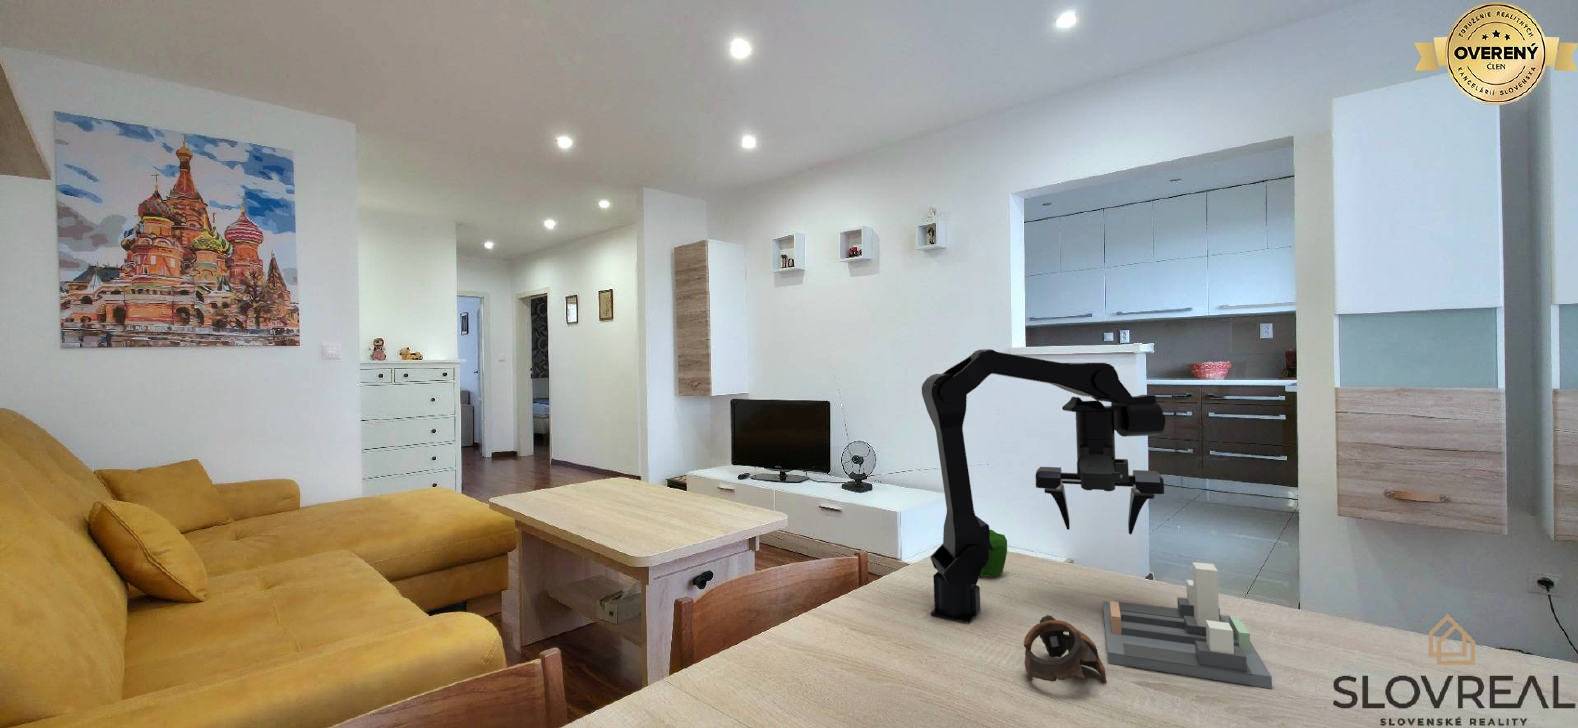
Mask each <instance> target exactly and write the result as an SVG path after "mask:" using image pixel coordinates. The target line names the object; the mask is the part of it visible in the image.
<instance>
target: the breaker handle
mask: <svg viewBox="0 0 1578 728" xmlns="http://www.w3.org/2000/svg"><path fill="white" fill-rule="evenodd" d="M1218 572H1219V571H1218V569H1217V568H1216V566H1215V564H1213V563H1206V562H1205V563H1204V562H1195V561H1193V562H1192V580H1193V593H1194V617H1191V616H1184V630H1185V632H1186V634H1192V635H1200V636H1206V620H1209V621H1217V622H1225V623H1226V621H1224V620H1219V609H1220V605H1219V604H1220V603H1219V577H1218Z"/></svg>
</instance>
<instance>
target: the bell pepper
mask: <svg viewBox="0 0 1578 728" xmlns="http://www.w3.org/2000/svg"><path fill="white" fill-rule="evenodd" d="M990 543H991V546H992V548H993V551H992V550H989V552H990V558H989V562H988V563H987V564H986V565H985V566H984V567H983V568H982V569H981V572H980V575H979V577H985V576H987V577H993V578H996V577H999V576H1001V574H1002V573H1003V571H1004V569H1005V565H1006V560H1007V554H1008V539H1007V538H1006V536H1005V534H1002V533H998V532H996V531H995V530H993V529H990Z"/></svg>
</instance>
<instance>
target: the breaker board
mask: <svg viewBox="0 0 1578 728" xmlns="http://www.w3.org/2000/svg"><path fill="white" fill-rule="evenodd" d="M1185 584H1186V597H1179V596H1177V600H1176V601H1177V607H1169V606H1168V607H1167V606H1160V605H1151V604H1145V603H1134V602H1128V601H1127V602H1126V601H1118V600H1116V601H1112V600H1109V601H1106V600H1103V601H1102V614H1103V624H1104V634H1105V643H1106V652H1107V662H1108V664H1112V665H1117V666H1123V667H1131V668H1137V669H1142V670H1143V669H1144V670H1150V671H1156V672H1163V673H1170V674H1175V675H1181V676H1182V675H1183V676H1188V677H1195V678H1201V679H1208V680H1214V681H1220V682H1227V683H1234V684H1240V685H1246V686H1252V687H1258V688H1265V689H1270V688H1272V689H1273V680H1272V678H1273V677H1272V675H1271V673H1270V671H1269V670H1268V668H1267V667H1266V665H1265V663H1264V661H1263V660H1262V658H1261V656H1260V655H1259V653H1258V652H1257V650H1256V648H1255V646H1254V645H1253V643H1252V641H1251V636H1250V635H1251V634H1250V632H1249V630H1248V628H1247V627H1246V625H1245V624H1244V622H1243V620H1242V619H1241V617H1240V616H1239V615H1231V614H1228V615H1224V614H1223V615H1222V614H1221V612H1220V611H1221V610H1220V608H1219V620H1224V621H1226V623H1225V622H1217V621H1209V620H1206V636H1200V635H1192V634H1186V632H1185V630H1184V616H1191V617H1194V593H1193V579H1186V583H1185Z"/></svg>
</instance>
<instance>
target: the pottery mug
mask: <svg viewBox="0 0 1578 728" xmlns="http://www.w3.org/2000/svg"><path fill="white" fill-rule="evenodd" d="M1066 633H1068V634H1066ZM1038 637H1039V639H1041V642H1042V643H1043V645H1044V647H1045V650H1046V652H1047V653H1048V656H1049V658H1056V659H1046V658H1045V659H1044V658H1041V657H1039V656H1037V655H1035V654H1034V653H1033V652H1032V645H1033V643H1034V642H1035V640H1036V639H1037V638H1038ZM1023 647H1024V648H1025V651H1024V655H1025V657H1024V661H1023V662H1024V667H1025V672H1026V674H1027V676H1028V679H1030V680H1033V679H1039V680H1042V681H1048V682H1051V683H1053V682H1056V681H1057V680H1058V681H1063V680H1064V681H1065V680H1068V679H1070V678H1074V677H1077V678H1079V679H1085V675H1084V673H1083V669H1082V666H1085V667H1088V668H1091V669H1093V670H1095V671H1097V673H1098V674H1099V675H1100V677H1101V680H1102V682H1103V683H1104V684H1106V683H1107V682H1108V680H1107V675H1106V674H1107V673H1106V668H1105V666H1104V664H1103V662H1102V659H1100V657H1099V652H1098V649H1097V645H1096V644H1095V642H1093V640H1092V639H1091V638H1090V637H1089V636H1088V635H1087V634H1085V633H1083V632H1082V631H1081V630H1079V629H1077V628H1076V627H1075V626H1073V625H1072V624H1071V623H1068V622H1067V621H1064V620H1061V619H1059V620H1058V619H1056V618H1054V617H1053V616H1052V615H1048V614H1047V615H1045V616H1042V617H1041V619H1040V620H1039V623H1037V624H1036V625H1034V626H1033V627H1032V628H1031V629H1029V630H1028V632H1027V633H1026V635H1025V636H1024V639H1023ZM1067 651H1068V653H1066V652H1067ZM1065 653H1066V654H1065Z"/></svg>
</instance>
